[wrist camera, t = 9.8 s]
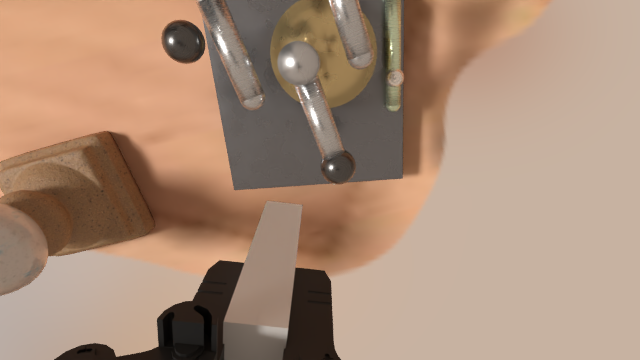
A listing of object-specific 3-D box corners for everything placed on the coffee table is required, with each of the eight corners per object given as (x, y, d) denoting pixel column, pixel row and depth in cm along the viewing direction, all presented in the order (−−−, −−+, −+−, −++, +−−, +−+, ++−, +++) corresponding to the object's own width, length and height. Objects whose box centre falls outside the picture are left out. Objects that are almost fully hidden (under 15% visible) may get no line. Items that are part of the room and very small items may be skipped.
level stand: (193, -80, 26) (170, -103, 22) (398, -101, 25) (412, -129, 21) (239, 183, 34) (228, 199, 30) (398, 172, 33) (407, 187, 29)
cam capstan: (265, 177, 31) (243, 222, 23) (195, 23, 26) (135, 7, 18) (417, 123, 29) (455, 151, 21) (369, -53, 24) (393, -109, 16)
